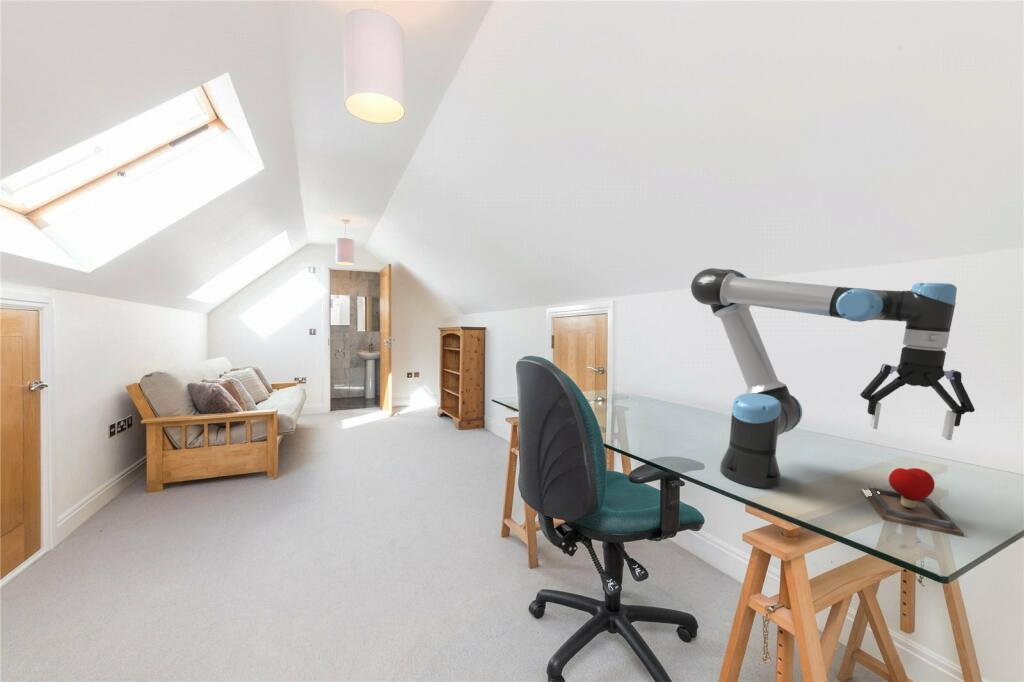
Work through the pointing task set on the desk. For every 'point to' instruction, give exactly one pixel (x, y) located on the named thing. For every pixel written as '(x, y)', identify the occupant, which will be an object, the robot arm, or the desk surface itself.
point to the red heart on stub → (911, 485)
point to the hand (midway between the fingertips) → (908, 432)
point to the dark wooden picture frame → (911, 512)
